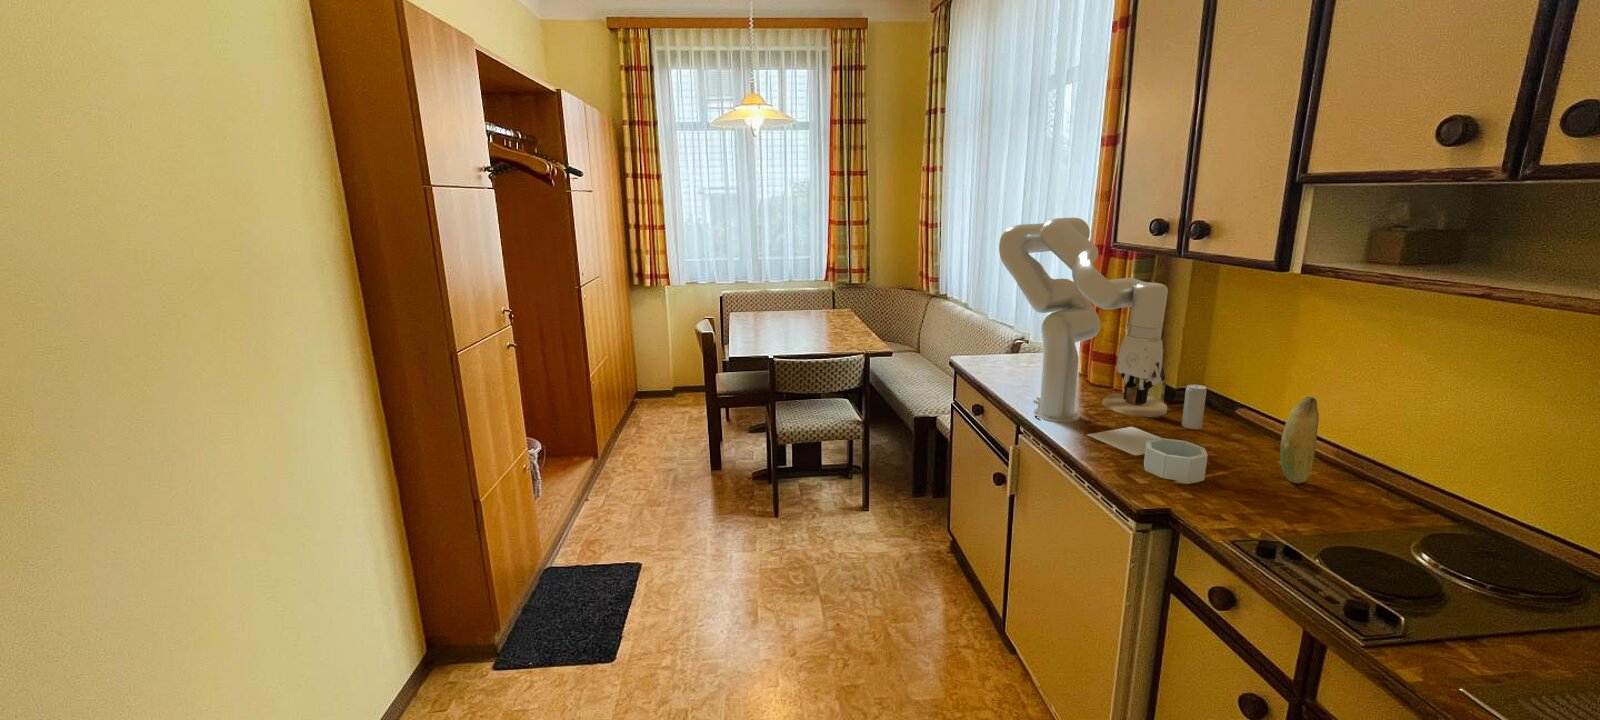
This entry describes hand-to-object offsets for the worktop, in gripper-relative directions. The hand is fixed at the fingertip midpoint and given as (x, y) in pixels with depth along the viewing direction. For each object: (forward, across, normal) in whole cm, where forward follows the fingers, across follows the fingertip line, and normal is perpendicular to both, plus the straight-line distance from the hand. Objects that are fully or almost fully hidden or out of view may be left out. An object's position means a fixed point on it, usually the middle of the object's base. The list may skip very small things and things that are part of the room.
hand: (1134, 400), depth 167 cm
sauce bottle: (+12, -13, +21) cm, 27 cm away
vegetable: (+10, +33, +12) cm, 37 cm away
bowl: (+11, +19, -7) cm, 23 cm away
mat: (+11, +1, 0) cm, 11 cm away
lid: (+2, 0, 0) cm, 2 cm away
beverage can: (+11, -1, +23) cm, 26 cm away
